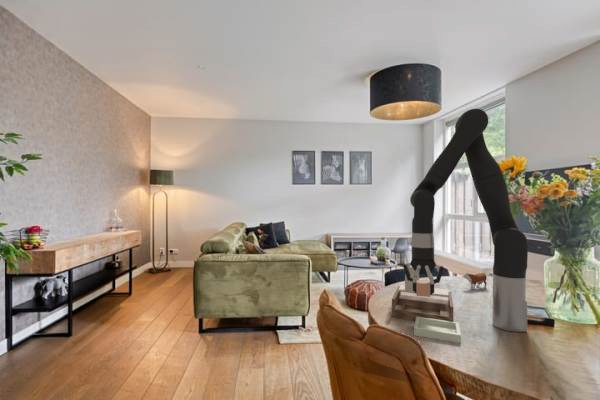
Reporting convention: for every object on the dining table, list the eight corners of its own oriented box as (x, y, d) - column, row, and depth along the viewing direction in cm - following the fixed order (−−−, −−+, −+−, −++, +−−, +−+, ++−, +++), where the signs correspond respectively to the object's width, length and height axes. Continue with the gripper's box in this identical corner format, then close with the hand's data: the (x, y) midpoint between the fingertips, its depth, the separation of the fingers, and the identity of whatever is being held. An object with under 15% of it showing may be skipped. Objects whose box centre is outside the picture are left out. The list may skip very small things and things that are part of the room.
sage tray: (458, 329, 104) (458, 322, 104) (460, 343, 94) (460, 335, 94) (416, 323, 109) (416, 316, 109) (414, 335, 99) (414, 327, 99)
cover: (448, 291, 125) (448, 266, 125) (448, 297, 117) (448, 270, 117) (400, 286, 132) (401, 262, 132) (398, 291, 124) (398, 266, 124)
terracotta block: (430, 293, 115) (430, 281, 115) (430, 297, 111) (430, 284, 111) (417, 292, 117) (416, 280, 117) (416, 295, 113) (416, 282, 113)
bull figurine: (460, 288, 156) (461, 271, 156) (482, 286, 160) (482, 270, 160) (468, 290, 152) (468, 273, 152) (489, 288, 156) (490, 271, 156)
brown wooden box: (451, 308, 125) (451, 291, 125) (453, 326, 107) (453, 307, 107) (398, 301, 133) (398, 286, 133) (391, 317, 115) (391, 299, 115)
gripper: (444, 245, 115) (445, 292, 115) (402, 243, 120) (403, 289, 120) (444, 247, 108) (445, 298, 108) (400, 246, 114) (401, 294, 113)
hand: (423, 293), depth 114 cm, fingers closed on terracotta block, 4 cm apart
